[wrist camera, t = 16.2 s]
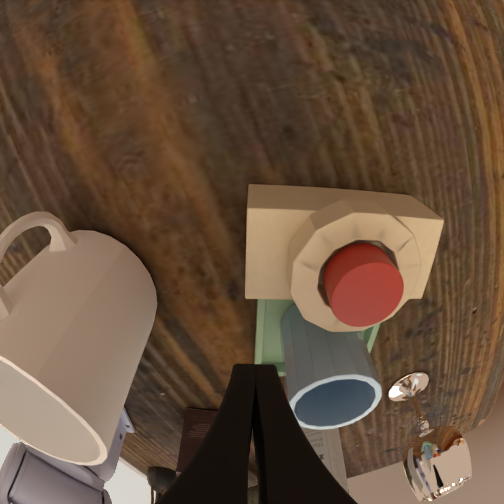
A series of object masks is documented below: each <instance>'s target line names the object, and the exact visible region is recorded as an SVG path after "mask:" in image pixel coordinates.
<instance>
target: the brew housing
mask: <svg viewBox="0 0 504 504" xmlns="http://www.w3.org/2000/svg"><path fill="white" fill-rule="evenodd" d="M443 223H444V220H443V219H442V218H440V217H439V216H438V215H437V214H435V213H434V212H433V211H431V210H430V209H429V208H427V207H426V206H425V205H423V204H422V203H420V202H419V201H418V200H416V199H415V198H414V197H412V196H411V195H403V194H393V193H383V192H373V191H362V190H349V189H336V188H322V187H305V186H286V185H261V184H249V186H248V202H247V230H246V272H245V298H246V299H280V300H294V302H295V304H296V306H297V307H298V309H299V311H300V313H301V314H302V316H303V318H304V319H305V320H307V321H309V322H311V323H313V324H315V325H317V326H319V327H321V328H323V329H325V330H328V331H330V332H349V331H361V330H362V331H363V330H366V329H368V328H370V327H372V326H374V325H376V324H379V323H381V322H383V321H385V320H387V319H389V318H391V317H392V316H393V315H394V314H395V313H396V312H397V311H398V310H399V309H400V308H401V307H402V305H403V304H404V303H405V302H406V301H407V300H408V299H421V298H422V295H423V292H424V289H425V286H426V283H427V280H428V277H429V274H430V271H431V267H432V264H433V261H434V257H435V254H436V250H437V246H438V243H439V239H440V235H441V231H442V227H443ZM357 243H369V244H373V245H375V246H378V247H379V248H381V249H382V250H383V251H384V252H385V253H386V255H387V256H388V257H389V259H390V260H391V261H392V263H393V264H394V265H395V267H396V268H397V269H398V271H399V272H400V274H401V276H402V278H403V282H404V291H403V296H402V299H401V301H400V303H399V305H398V306H397V308H396V309H395V310H394V311H393V312H392V313H391V314H390V315H389V316H388V317H387V318H385V319H384V320H382V321H380V322H378V323H376V324H373V325H370V326H365V327H353V326H349V325H346V324H344V323H342V322H341V321H339V320H338V319H337V318H336V317H335V315H334V314H333V311H332V309H331V306H330V303H329V300H328V297H327V294H326V291H325V288H324V283H323V276H324V271H325V268H326V266H327V264H328V262H329V261H330V259H331V258H332V257H333V256H334V255H335V254H336V253H337V252H338V251H340V250H341V249H343V248H345V247H347V246H349V245H352V244H357Z"/></svg>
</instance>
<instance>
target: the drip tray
mask: <svg viewBox="0 0 504 504" xmlns="http://www.w3.org/2000/svg"><path fill="white" fill-rule="evenodd" d="M294 303H295V302H294V300H280V299H257V311H256V332H255V352H254V364H274V365H275V366H276V367H277V371H278V375H279V376H284V375H283V364H282V353H281V342H280V322H281V319H282V317H283V315H284V313H285V312H286V310H287V309H288V308H289V307H290V306H291V305H293V304H294ZM379 326H380V323H379V324H376V325H374V326H372V327H370V328H368V329H366V330H363V331H362V330H361V333H362V336H363V338H364V341H365V343H366V346H367V349H368V351H369V354H370V352H371V349H372V346H373V343H374V341H375V338H376V335H377V332H378V329H379Z"/></svg>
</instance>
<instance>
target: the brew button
mask: <svg viewBox="0 0 504 504" xmlns="http://www.w3.org/2000/svg"><path fill="white" fill-rule="evenodd" d="M323 283H324V288H325V291H326V294H327V297H328V300H329V303H330V306H331V309H332V311H333V314H334V315H335V317H336V318H337V319H338V320H339V321H341V322H342V323H344V324H346V325H349V326H353V327H365V326H370V325H373V324H376V323H378V322H380V321H382V320H384V319H385V318H387V317H388V316H389V315H390V314H391V313H392V312H393V311H394V310H395V309H396V308H397V306H398V305H399V303H400V301H401V299H402V296H403V291H404V282H403V278H402V276H401V274H400V272H399V271H398V269H397V268H396V267H395V265H394V264H393V263H392V261H391V260H390V259H389V257H388V256H387V255H386V253H385V252H384V251H383V250H382V249H381V248H379V247H378V246H375V245H373V244H369V243H357V244H352V245H349V246H347V247H345V248H343V249H341V250H340V251H338V252H337V253H336V254H335V255H334V256H333V257H332V258H331V259H330V261H329V262H328V264H327V266H326V268H325V271H324V276H323Z"/></svg>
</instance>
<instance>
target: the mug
mask: <svg viewBox="0 0 504 504" xmlns="http://www.w3.org/2000/svg"><path fill="white" fill-rule="evenodd" d="M35 226H44V227H45V228H47V229H48V230H49V233H50V235H51V237H52V238H51V243H50V244H49V245H48V246H47V247H45V248H44V249H43V250H42V251H41V252H40V253H39V254H38V255H37V256H35V257H34V258H33V259H32V260H31V261H30V262H29V263H28V264H27V265H26V266H25V267H24V268H22V269H21V270H20V271H19V272H18V273H17V274H16V275H15V276H14V277H13V278H12V279H11V280H10V281H9V282H8V283H7V284H6V285H5V286H4V287H2V285H1V283H0V426H2V427H3V428H5V429H6V430H7V431H8V432H9V433H11V434H12V435H13V436H15V437H17V438H18V439H20V440H21V441H23V442H24V443H26V444H28V445H29V446H31V447H33V448H35V449H37V450H39V451H41V452H43V453H45V454H47V455H49V456H52V457H54V458H57V459H60V460H62V461H66V462H70V463H74V464H78V465H91V466H93V465H97V464H101V463H103V462H104V461H105V459H106V458H107V457H108V453H109V450H110V447H111V444H112V440H113V437H114V434H115V431H116V428H117V425H118V422H119V419H120V416H121V413H122V410H123V407H124V404H125V401H126V398H127V395H128V392H129V389H130V386H131V384H132V381H133V378H134V375H135V372H136V370H137V367H138V364H139V361H140V359H141V356H142V353H143V351H144V348H145V345H146V343H147V340H148V337H149V335H150V332H151V330H152V327H153V323H154V318H155V314H156V309H157V296H156V289H155V286H154V284H153V281H152V278H151V276H150V274H149V272H148V271H147V269H146V268H145V266H144V265H143V263H142V262H141V260H140V259H139V258H138V257H137V256H136V255H135V254H134V253H133V252H132V251H131V250H130V249H129V248H128V247H127V246H125V245H124V244H122V243H120V242H119V241H117V240H116V239H114V238H112V237H111V236H108V235H105V234H102V233H99V232H96V231H88V230H77V231H73V232H69V231H68V230H67V229H66V227H65V226H64V224H63V223H62V221H61V220H60V219H58V218H57V217H55V216H54V215H52V214H51V213H49V212H40V211H36V212H33V213H30V214H27V215H24V216H22V217H21V218H19V219H18V220H16V221H15V222H13V223H12V224H11V225H9V226H8V227H7V228H6V229H5V230H4V231H3V233H2V234H1V235H0V263H1V261H2V258H3V256H4V254H5V251H6V249H7V248H8V247H9V245H10V244H11V243H12V241H13V240H14V239H15V238H16V237H17V236H18V235H19V234H21V233H22V232H23V231H25V230H26V229H29V228H32V227H35Z"/></svg>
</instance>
